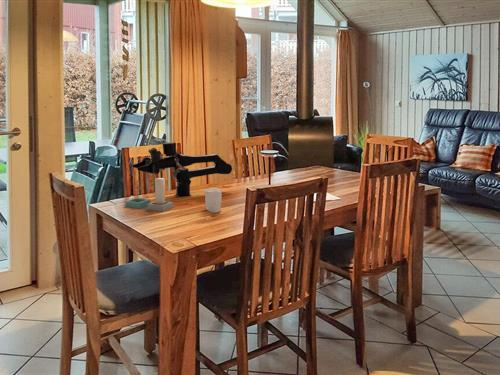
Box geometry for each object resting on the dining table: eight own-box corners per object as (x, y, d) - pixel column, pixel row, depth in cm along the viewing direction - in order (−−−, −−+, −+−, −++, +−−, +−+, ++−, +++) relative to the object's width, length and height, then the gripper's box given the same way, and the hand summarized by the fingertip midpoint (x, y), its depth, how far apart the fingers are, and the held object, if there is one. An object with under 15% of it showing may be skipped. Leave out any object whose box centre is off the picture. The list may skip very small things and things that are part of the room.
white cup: (215, 213, 237) (215, 192, 235) (201, 211, 241) (201, 190, 239) (225, 210, 244) (225, 189, 242) (211, 208, 248) (211, 187, 246)
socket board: (175, 208, 246) (175, 201, 245) (162, 214, 236) (162, 206, 235) (137, 204, 254) (136, 197, 254) (122, 209, 245) (122, 201, 244)
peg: (164, 206, 245) (163, 177, 242) (166, 209, 241) (165, 179, 238) (155, 207, 244) (154, 178, 241) (156, 209, 240) (155, 180, 237)
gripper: (157, 145, 274) (128, 149, 267) (168, 149, 257) (138, 154, 251) (159, 166, 276) (130, 170, 270) (171, 171, 260) (140, 176, 253)
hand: (134, 167), depth 261 cm, fingers open, 9 cm apart
